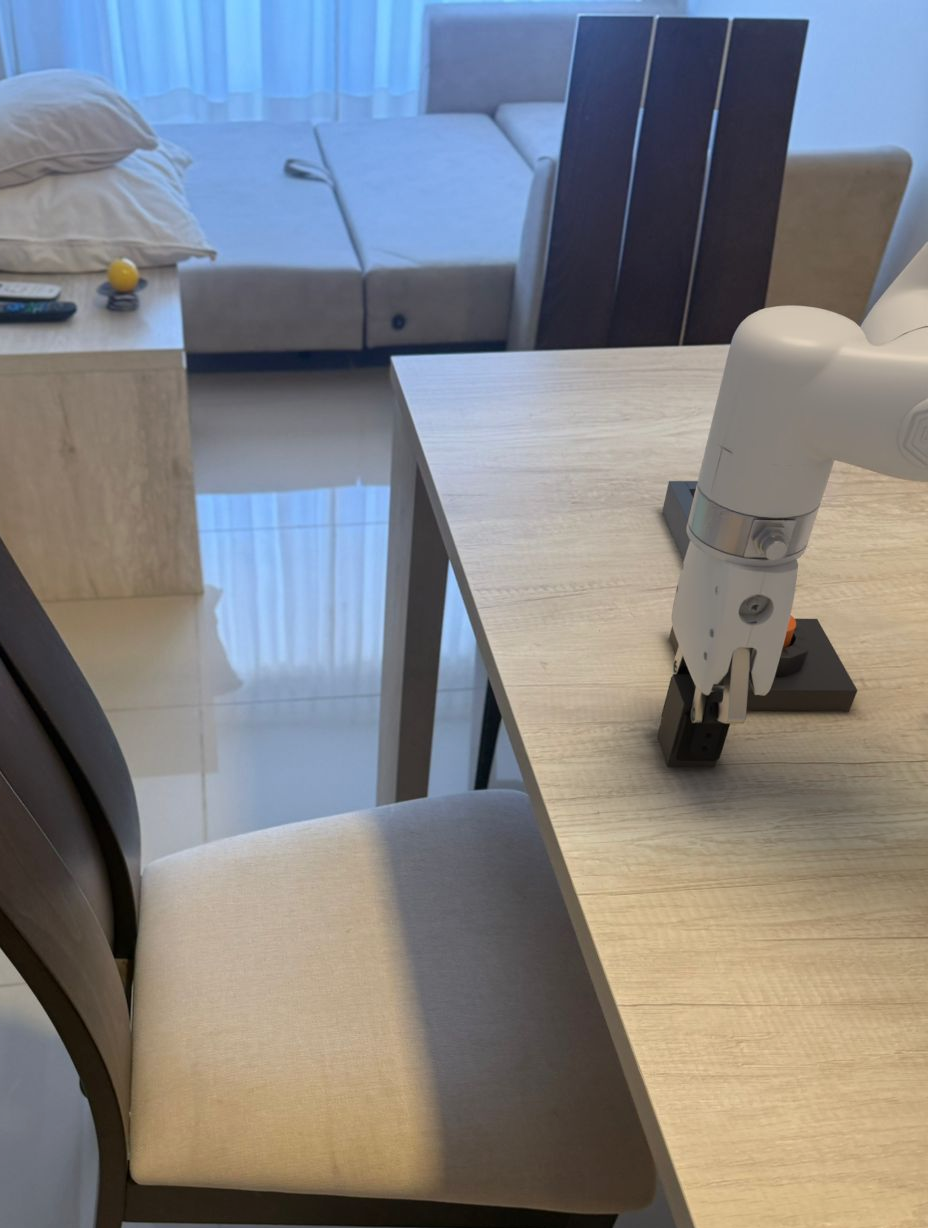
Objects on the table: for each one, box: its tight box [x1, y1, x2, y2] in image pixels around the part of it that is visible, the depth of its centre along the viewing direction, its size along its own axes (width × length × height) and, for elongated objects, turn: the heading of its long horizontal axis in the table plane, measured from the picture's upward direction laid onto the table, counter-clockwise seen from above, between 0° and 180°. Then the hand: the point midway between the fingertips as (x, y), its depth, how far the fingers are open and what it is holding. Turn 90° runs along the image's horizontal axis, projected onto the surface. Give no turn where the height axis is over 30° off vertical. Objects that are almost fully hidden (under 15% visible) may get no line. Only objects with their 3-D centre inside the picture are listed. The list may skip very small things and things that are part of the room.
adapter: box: [661, 480, 698, 563], centre depth 108 cm, size 8×14×4 cm, turn 0°
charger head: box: [656, 673, 723, 768], centre depth 84 cm, size 4×4×7 cm
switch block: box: [668, 618, 858, 712], centre depth 93 cm, size 12×10×4 cm
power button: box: [782, 614, 796, 649], centre depth 91 cm, size 4×4×2 cm
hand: (689, 737), depth 86 cm, fingers closed on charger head, 3 cm apart
